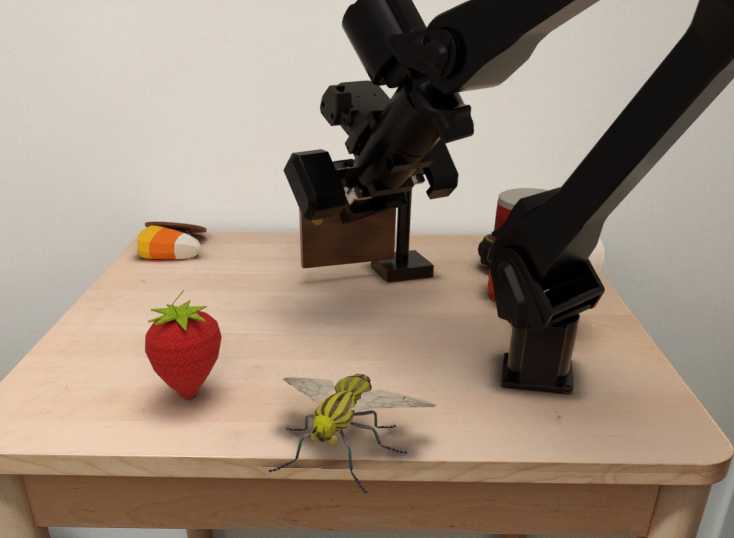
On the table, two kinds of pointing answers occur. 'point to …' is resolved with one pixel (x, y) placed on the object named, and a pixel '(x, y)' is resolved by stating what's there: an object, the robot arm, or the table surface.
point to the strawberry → (183, 346)
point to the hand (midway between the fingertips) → (343, 219)
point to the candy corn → (166, 244)
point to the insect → (346, 408)
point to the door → (347, 240)
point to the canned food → (503, 211)
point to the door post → (404, 252)
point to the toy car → (179, 227)
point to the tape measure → (485, 249)
